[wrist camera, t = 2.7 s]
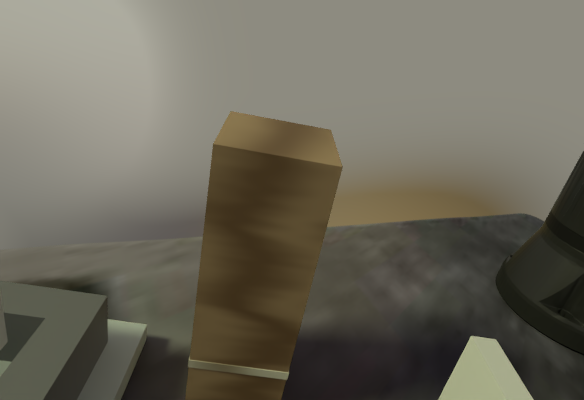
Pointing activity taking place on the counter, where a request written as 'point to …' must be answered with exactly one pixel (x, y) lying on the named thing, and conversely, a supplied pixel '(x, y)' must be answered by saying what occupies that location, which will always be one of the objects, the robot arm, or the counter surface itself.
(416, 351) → the counter surface
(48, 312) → the socket board
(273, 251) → the walnut peg
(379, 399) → the counter surface
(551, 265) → the robot arm
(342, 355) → the counter surface
